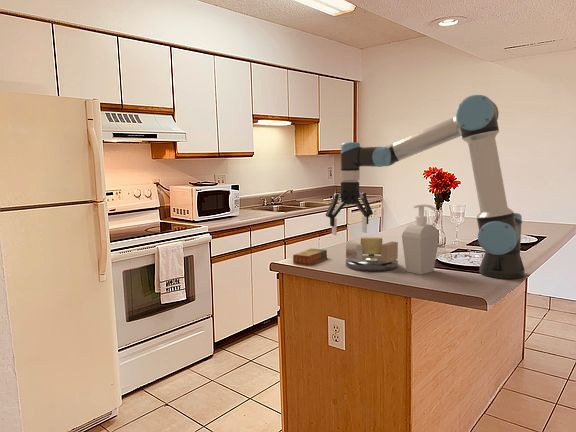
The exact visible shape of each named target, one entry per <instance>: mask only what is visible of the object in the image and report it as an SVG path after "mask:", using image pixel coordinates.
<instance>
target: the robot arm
mask: <svg viewBox="0 0 576 432" xmlns="http://www.w3.org/2000/svg"><path fill="white" fill-rule="evenodd" d="M499 114H500V113H499V108H498V106H497V104H496V103H495V102H494V101H493V100H491V99H490V98H489V97H488V96H487V95H482V94H473V95H470V96H467V97H466V98H464V99H463V100H462V101H460V102H459V104H458V105H457V107H456V112H455V115H454V116H453V117H451V118H449V119H447V120H444V121H442V122H440V123H437V124H435V125H433V126H430V127H428V128H425V129H423V130H422V131H419V132H417V133H413V134H411V135H410V136H407V137H404V138H402V139H400V140H398V141H395V142H393V143H391V144H389V145H386V146H368V147H367V146H364V147H363V146H362V147H361V144H360V142H358V141H356V142H353V141H352V142H350V141H349V142H348V141H347V142H342V143H341V147H340V181H341V182H340V193H333V194H332V200H331V202H330V204H329V206H328V209H327V211H326V213H325V217H327V218H329V224H330V225H329V226H330V227H331V235H334V236H336V235H337V232H338V231H337V229H338V228H337V226H338V223H337V220H338V219H337V216H338V214H339V213H340V212H341V211H342V209H343V208H344V206H346V205H355V206H356V207H357V208H358V210H359V211H360V212H361V214H362V216H361V233H367V228H368V227H367V225H368V224H369V218H370V216H372V215H374V212H373V210H372V208H371V205H370V203H369V201H368V199H367V193H366V192H360V182H359V181H360V180H361V179H360V171H361V170H360V169H361V168H360V167H373V168H374V167H379V168H383V167H390V166H393V165H394V164H396V163H398V162H399V161H401V160H405V159H407V158H410V157H412V156H414V155H417V154H419V153H422V152H424V151H425V152H426V151H427V150H429V149H433V148H434V147H437V146H439V145H443V144H445V143H447V142H450V141H451V140H454V139H455V140H456V139H457V138H459V137H461V138H462V140H463V141H464V142H465V143H466V144H468V149H469V155H470V161H471V166H472V172H473V177H474V183H475V190H476V194H477V198H478V206H479V211H480V212H479V213H478V214H477V215H476V221H477V227H478V233H477V242H478V243H479V246H480V247H481V249H483V250H484V254H483V257H482V260H481V262H480V265H479V274H480V275H483V276H486V277H489V278H495V279H504V280H505V279H506V280H507V279H508V280H512V279H513V280H516V279H521V278H524V277H525V273H526V272H525V271H526V270H525V267H524V264H523V261H522V257H521V240H522V224H523V220H522V218H523V217H522V215H521V213H516V212H514V210H512V209H511V208H509V206H508V202H507V196H506V191H505V184H504V180H503V174H502V169H501V164H500V158H499V157H500V156H499V151H498V147H497V146H498V145H497V140H496V137H497V135H498V134H499V133H500V130H499V123H498V120H499V116H500V115H499ZM359 198H360V199H361V201H362V203H363V205H362V203H361V202H360V200H359ZM339 199H340V201H339ZM336 205H337V206H336Z"/></svg>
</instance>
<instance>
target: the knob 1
mask: <svg viewBox="0 0 576 432" xmlns="http://www.w3.org/2000/svg"><path fill="white" fill-rule="evenodd" d="M362 247H363V245H362V244H361V243H360V242H356V241H352V240H349V241H345V259H347V258H348V259H350V260H351V262H362V255H363V254H362Z"/></svg>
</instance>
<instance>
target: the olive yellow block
mask: <svg viewBox="0 0 576 432" xmlns="http://www.w3.org/2000/svg"><path fill="white" fill-rule="evenodd" d="M360 244H362V245H363V247H362V255H369V256H374V255H376V256H381V245H382V244H383V237H366V236H365V237H363V236H362V237H360Z"/></svg>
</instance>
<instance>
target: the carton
mask: <svg viewBox="0 0 576 432" xmlns="http://www.w3.org/2000/svg"><path fill="white" fill-rule="evenodd" d="M327 251H328V250H327V249H322V248H321V249H320V248H309V249H306V250H303V251H301V252H297V253H294V254H292V255H293V256H292V264H296V265H303V266H311V265H314V264H316V263H318V262H321V261H324V260H326V259H327V258H328V252H327Z"/></svg>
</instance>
